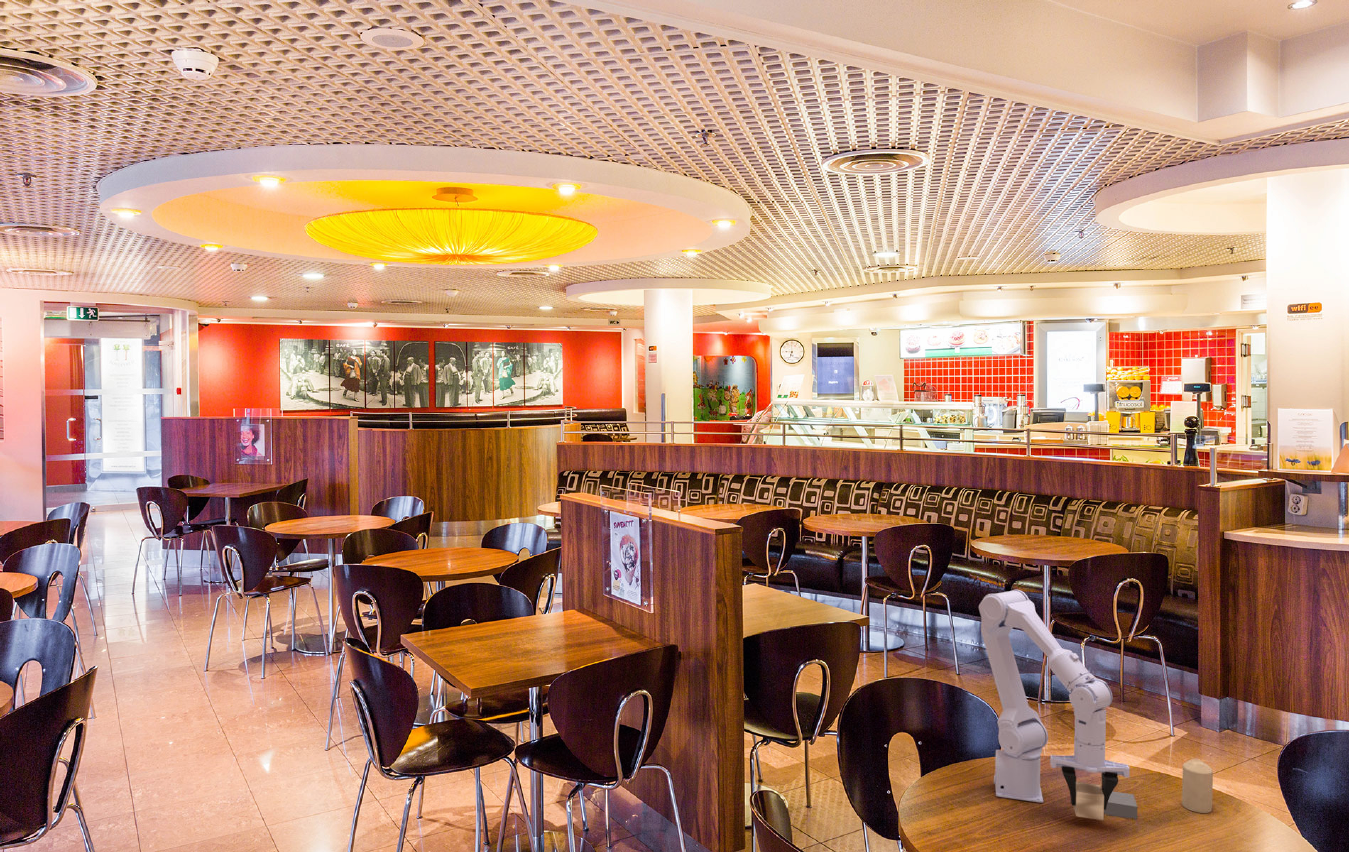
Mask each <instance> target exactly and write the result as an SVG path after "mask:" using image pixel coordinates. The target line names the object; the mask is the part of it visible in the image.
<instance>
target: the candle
mask: <svg viewBox="0 0 1349 852" xmlns="http://www.w3.org/2000/svg"><path fill="white" fill-rule="evenodd" d="M1213 781H1214V770H1213V769H1212V767H1210V766H1209V765H1208V764H1207V763H1205V761H1202V760H1201V759H1200V758H1191V759H1189V760H1187V761H1186V762H1184V763H1183V764H1182V782H1181V784H1182V788H1181V805H1182V807H1184V808H1185V809H1186V810H1188V811H1190V812H1194V813H1200V814H1209V813H1211V812H1212V811H1213V784H1214V783H1213Z"/></svg>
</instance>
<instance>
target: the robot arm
mask: <svg viewBox="0 0 1349 852" xmlns="http://www.w3.org/2000/svg"><path fill="white" fill-rule="evenodd" d="M978 611H979V614H980V617H981V623H980V624H981V625H980V632H981V635H982V636H981V637H982V639H983V643H984V647H985V649H986V655H987V658H988V661H989V665H990V668H991V669H990V670H991V671H992V675H993V680H994V684H995V687H996V690H997V693H998V698H999V701H1000V703H1001V708H1002V711H1001V713H1000V716H999V717H998V719H997V726H998V736H997V737H998V742H999V745H1000V747H1001V749H995V760H994V762H995V764H994V765H995V767H994V768H995V771H994V775H993V784H994V785H995V786H994V787H995V796H996V797H1000V798H1005V799H1013V800H1020V801H1027V802H1034V803H1035V802H1036V803H1044V797H1043V793H1042V788H1041V754H1043V748H1044V747H1046V745H1047V744H1048V741H1049V735H1048V730H1047V729H1046V727H1045V725H1044V724H1043V722H1042V720H1041V719H1040V716H1039V713H1038V712H1037V711H1036V710H1034V709H1033V708H1032V707H1030V706H1029V703H1028V699H1027V696H1026V692H1025V689H1024V684H1023V682H1022V678H1021V674H1020V671H1019V668H1018V665H1017V664H1018V663H1017V661H1016V657H1015V654H1014V650H1013V647H1012V643H1011V640H1010V633H1011V632H1012V629H1013V628H1015V629H1020V630H1022V631H1023V632H1024V633H1025V634H1026V635H1027V636H1028V637H1029V638H1030V639H1031V640H1032V641H1033V643H1034V644H1035V645H1036V646H1037V647H1038V648H1039V649H1040V650H1041V651H1042V653H1044V655H1046V657H1048V662H1047V663H1048V665H1047V666H1048V667H1049V669H1050V670H1051V672H1053V674H1054V675H1055V676H1056V678H1057V679H1058V680H1059V681H1060V682H1061V684H1062V685H1063V686H1064V688H1065V689H1066V690H1067V691H1068V692H1069V694H1068V697H1069V698H1068V699H1069V703H1070V704H1071V706H1072V709H1073V716H1074V741H1073V742H1074V745H1073V747H1074V750H1073V755H1057V754H1056V755H1055V754H1050V759H1049V761H1050V763H1049V764H1050V767H1051V768H1053V769H1057V768H1060V769H1061V772H1062V775H1063V777H1064V779H1065V781H1066V784H1067V786H1068V787H1067V788H1068V790H1069V795H1070V802H1071V806H1073V807H1074V806H1076V793H1075V789H1076V782H1077V775H1076V771H1077V770H1078V771H1085V772H1087V773H1094V774H1098V773H1099V774H1101V789H1102V791H1103V794H1104V810H1106V807H1107V803H1108V800H1109V797H1110V795H1111V793H1112V791H1115V788H1116V786H1118V783H1119V777H1118V776H1122V777H1124V778H1130V769H1131V768H1130V766H1129V764H1127V763H1125V764H1124V763H1119V762H1115V761H1112V760H1108V759H1106V733H1107V732H1106V731H1107V730H1106V728H1107V727H1106V726H1107V708H1108V707H1110V705H1111V704H1112V702H1113V693H1112V689H1111V687H1109V685H1108V682H1106V681H1104V680H1102V679H1100V678H1097V677H1095V675H1094V674H1093V673H1090V671H1089V670H1088V669H1087V667H1085V665H1084V664H1083V663H1082V662H1081V661H1080V659H1079V658H1080V656H1078V654H1077V653H1076V652H1075V653H1073V651H1072V650H1070V649H1066V648H1062V646H1061V645H1060V643H1059V642H1058V641H1057V639H1056V638H1055V636H1054V635H1053V633H1051V631H1050V630H1049V628H1048V627H1047V625H1045V623H1044V621H1043V620H1042V619H1041V617H1040V616H1039V615H1038V613H1037V612H1036V607H1035V603H1034V602H1033V601H1031V599H1029V597H1028V595H1027V594H1026V593H1025V592H1024V591H1022V590H1020V589H1012V590H1010V591H1004V592H998V593H988V594H986V595H985V596H984V597H983V599H982V600H981V601H980V603H979V605H978Z"/></svg>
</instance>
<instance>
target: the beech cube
mask: <svg viewBox="0 0 1349 852" xmlns="http://www.w3.org/2000/svg"><path fill="white" fill-rule="evenodd" d="M1075 793H1076V806H1073V809H1074V813H1075V816H1076V817H1077V818H1078V817H1079V818H1085V819H1093V820H1099V821H1104V815H1105V813H1104V794H1103V791H1102V785H1100V784H1093V783H1086V782H1078V781H1076V789H1075Z"/></svg>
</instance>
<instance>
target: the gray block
mask: <svg viewBox="0 0 1349 852" xmlns="http://www.w3.org/2000/svg"><path fill="white" fill-rule="evenodd" d="M1104 815H1105V816H1112V817H1117V818H1125V819H1130V818H1133V819H1132V820H1136V819H1137V820H1138V804H1137V801H1136V798H1135V795H1134V794H1133V793H1126V792H1120V791H1115V790H1113V791H1112V793H1111V795H1110V797H1109V800H1108V803H1107V807H1106V810H1104Z"/></svg>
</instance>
